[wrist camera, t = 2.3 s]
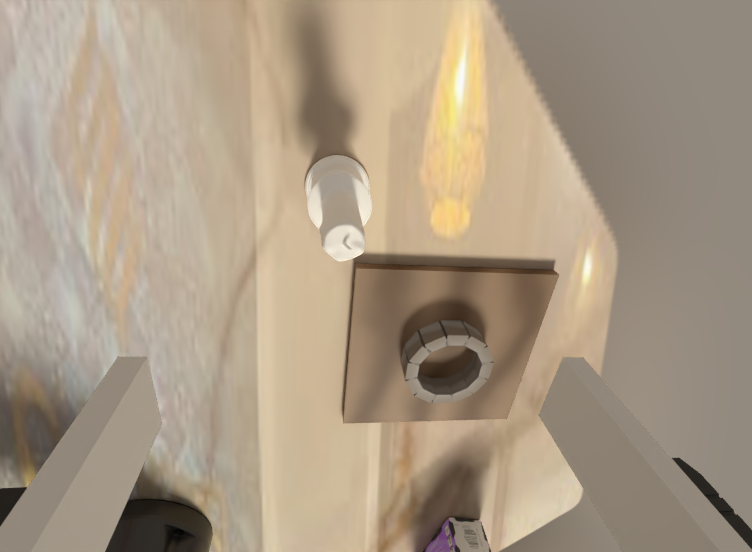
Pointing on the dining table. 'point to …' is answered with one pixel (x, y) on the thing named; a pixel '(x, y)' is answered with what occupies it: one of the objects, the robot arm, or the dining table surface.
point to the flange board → (425, 304)
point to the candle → (339, 204)
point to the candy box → (459, 537)
